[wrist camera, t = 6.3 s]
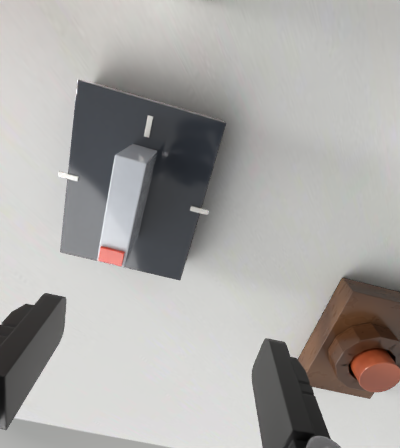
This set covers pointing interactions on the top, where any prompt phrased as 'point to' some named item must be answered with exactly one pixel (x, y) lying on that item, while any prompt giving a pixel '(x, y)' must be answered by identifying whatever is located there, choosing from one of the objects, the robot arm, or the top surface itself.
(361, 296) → the button block
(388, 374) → the button
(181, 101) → the top surface
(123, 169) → the red-tipped grey slab
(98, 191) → the dark grey slab base
